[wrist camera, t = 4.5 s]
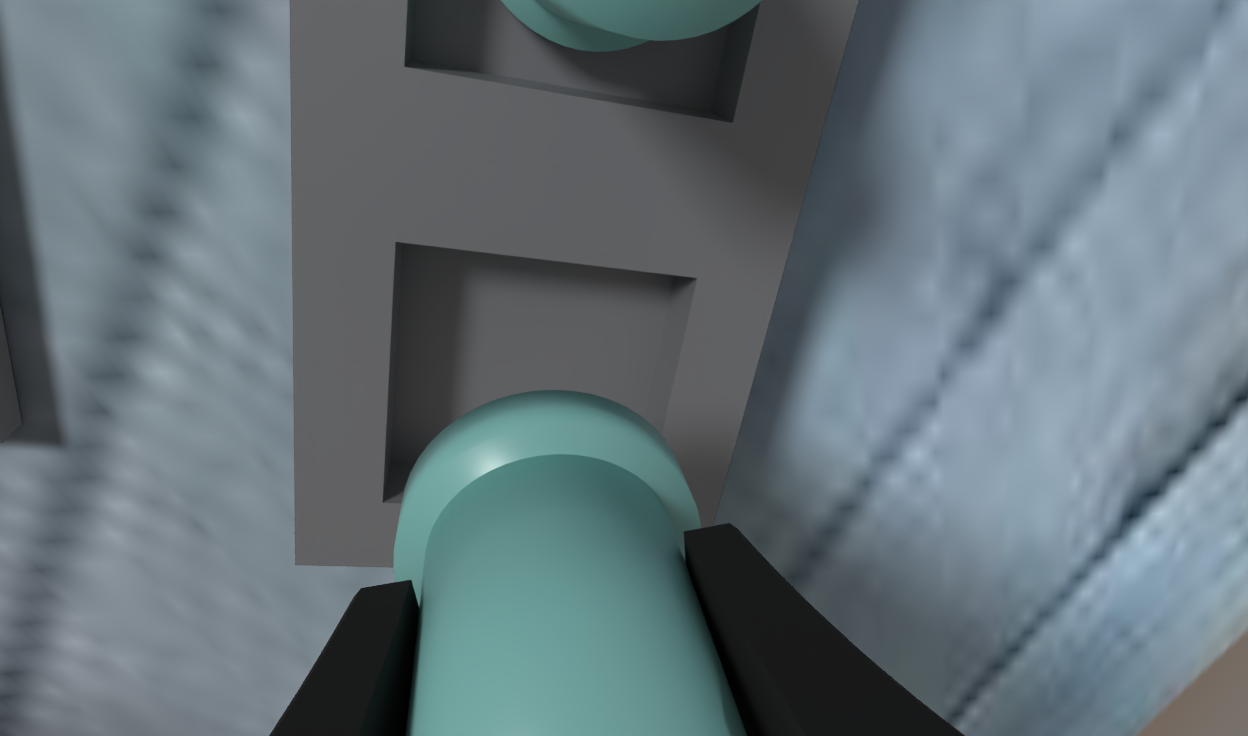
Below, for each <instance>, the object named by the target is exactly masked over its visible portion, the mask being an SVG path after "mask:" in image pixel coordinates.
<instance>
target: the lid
mask: <svg viewBox="0 0 1248 736" xmlns="http://www.w3.org/2000/svg"><path fill="white" fill-rule="evenodd" d="M21 425H22V420H21V415H20V409H19V404H18V398H17V393H16V388H15V382H14V377H13V371H12V366H11V360H10V355H9V350H8V344H7V339H6V333H5V328H4V322H3V317H2V312H1V306H0V444H1V443H2V442H3V441H4V440H5V439H6V438H8V437H9V436H10V435H11V434H12V433H13V432H14V431H15V430H16V429H17V428H18V427H20V426H21Z"/></svg>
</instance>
